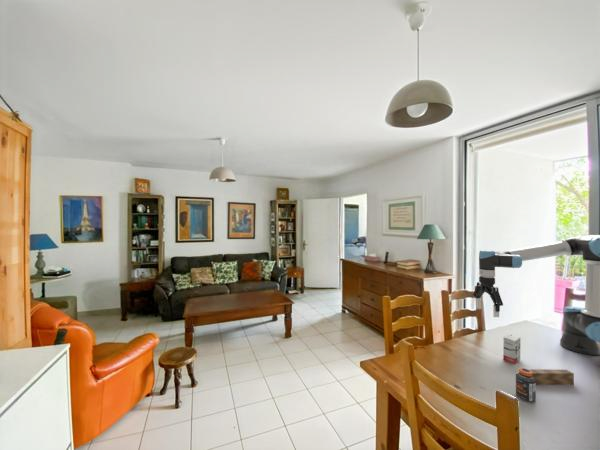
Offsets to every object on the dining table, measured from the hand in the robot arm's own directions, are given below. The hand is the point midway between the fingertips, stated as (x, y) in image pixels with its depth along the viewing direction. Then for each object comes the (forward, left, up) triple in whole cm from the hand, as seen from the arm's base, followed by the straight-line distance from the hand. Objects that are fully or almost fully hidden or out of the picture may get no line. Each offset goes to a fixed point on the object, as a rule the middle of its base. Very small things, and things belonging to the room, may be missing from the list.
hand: (487, 312), depth 145 cm
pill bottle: (+19, +46, -19) cm, 53 cm away
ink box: (0, +17, -19) cm, 25 cm away
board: (0, +36, -18) cm, 40 cm away
